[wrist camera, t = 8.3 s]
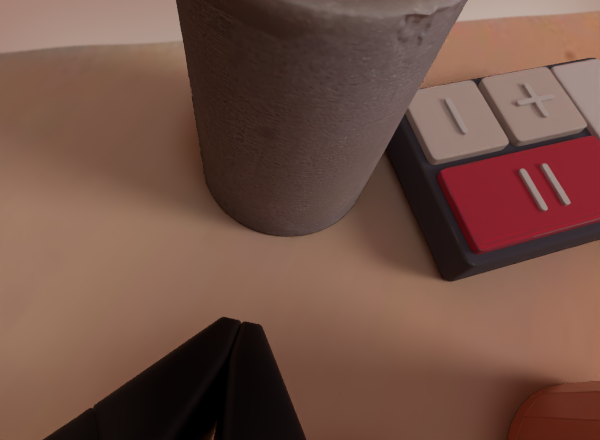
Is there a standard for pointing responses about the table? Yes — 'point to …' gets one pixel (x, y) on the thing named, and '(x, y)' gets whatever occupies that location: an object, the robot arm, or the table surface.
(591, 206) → the calculator
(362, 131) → the pillar candle
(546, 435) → the pen pot
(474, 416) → the table surface
